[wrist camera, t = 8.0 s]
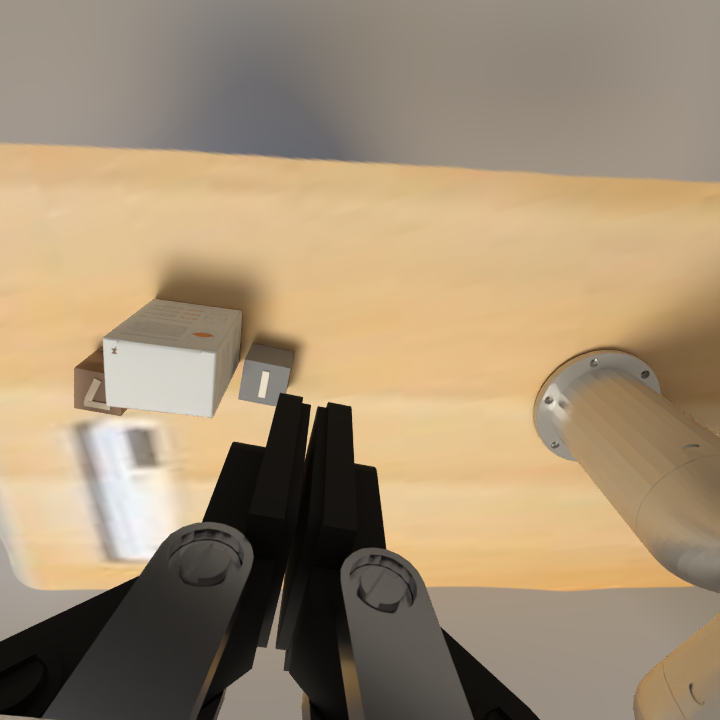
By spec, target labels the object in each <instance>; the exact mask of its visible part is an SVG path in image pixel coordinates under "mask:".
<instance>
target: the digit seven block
mask: <svg viewBox="0 0 720 720" xmlns="http://www.w3.org/2000/svg"><path fill="white" fill-rule="evenodd" d="M74 408H77V409H83V410H89V411H95V412H100V413H106V414H112V415H117V416H121V415H122V414H123V413H124V412H125V411H126V410H127V408H118V407H109V406H107V405H106V392H105V373H104V355H103V352H100V351H95V352H94V353H93V354H92V355H90V356H89V357H88V358H86V359H85V360H84V361H83V362H81V363H80V364H79V365H77V366H76V367H75V368H74Z"/></svg>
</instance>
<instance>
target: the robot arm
mask: <svg viewBox="0 0 720 720" xmlns="http://www.w3.org/2000/svg"><path fill="white" fill-rule="evenodd" d="M302 401H303V397H300V396H295V395H290V394H285V393H280V394H279V398H278V402H277V406H276V410H275V414H274V418H273V421H272V425H271V429H270V433H269V437H268V441H267V445H266V447H261V446H255V445H250V444H244V443H239V442H233V443H232V445H231V447H230V450H229V453H228V455H227V458H226V460H225V463H224V466H223V468H222V471H221V474H220V476H219V479H218V481H217V484H216V487H215V489H214V492H213V495H212V497H211V500H210V502H209V505H208V508H207V510H206V513H205V516H204V518H203V521H202V523H195V524H191V525H188V526H185V527H182V528H180V529H179V530H177V531H175V532H173V533H172V534H170V535H169V536H168V538H167V539H166V540H165V541H164V542H163V543H162V544H161V545H160V547H159V548H158V550H157V551H156V553H155V554H154V555H153V557H152V558H151V560H150V561H149V563H148V564H147V566H146V567H145V568H144V570H143V571H142V573H141V574H140V576H138V577H136V578H133V579H131V580H129V581H127V582H125V583H123V584H121V585H119V586H117V587H114V588H112V589H110V590H108V591H106V592H104V593H102V594H100V595H98V596H95V597H94V598H91V599H89V600H87V601H85V602H83V603H81V604H79V605H76V606H74V607H72V608H70V609H68V610H66V611H64V612H62V613H60V614H57V615H56V616H53V617H51V618H49V619H47V620H45V621H43V622H41V623H39V624H36V625H34V626H32V627H30V628H28V629H26V630H24V631H22V632H20V633H17V634H15V635H13V636H11V637H9V638H7V639H5V640H3V641H1V642H0V720H217V718H218V715H219V712H220V709H221V706H222V704H223V701H224V698H225V693H226V688H227V687H228V686H229V685H231V684H232V683H233V682H234V681H236V680H237V679H239V678H240V677H241V676H243V675H244V674H245V673H246V672H248V671H249V670H250V669H252V665H253V661H254V657H255V652H256V648H257V647H265V648H266V647H267V643H268V640H269V635H270V631H271V627H272V623H273V619H274V615H275V610H276V607H277V603H278V599H279V595H280V590H281V587H282V583H283V579H284V586H283V594H282V601H281V609H280V617H279V624H278V632H277V639H276V649H281V650H286V655H285V664H284V671H289V673H290V675H291V676H292V677H293V678H294V680H295V681H296V682H297V683H298V685H299V686H300V687H301V688H302V690H303V696H302V720H540V719H539V718H538V717H537V716H536V715H535V714H534V713H533V712H532V711H531V709H530V708H529V707H528V706H527V705H525V704H524V703H523V702H522V701H521V700H520V699H519V698H518V697H516V695H514V694H513V693H512V692H511V691H510V690H509V689H508V688H507V687H506V686H505V685H503V684H502V683H501V682H500V681H499V680H498V679H497V678H496V677H495V676H494V675H493V674H492V673H490V672H489V671H488V670H487V669H486V668H485V667H484V666H483V665H482V664H481V663H479V662H478V661H477V660H476V659H475V658H474V657H473V656H472V655H471V654H470V653H469V652H467V651H466V650H465V649H464V648H463V647H462V646H461V645H460V644H459V643H458V642H456V641H455V640H454V639H453V638H452V637H451V636H450V635H449V634H448V633H447V632H446V631H445V630H443V629H442V628H441V627H440V625H439V622H438V619H437V617H436V614H435V611H434V608H433V606H432V603H431V600H430V597H429V595H428V592H427V589H426V586H425V584H424V581H423V580H422V578H421V576H420V574H419V572H418V571H417V570H416V569H415V568H414V566H413V565H412V564H411V563H410V562H409V561H407V560H406V559H404V558H403V557H402V556H400V555H399V554H396V553H394V552H391V551H389V550H386V543H385V535H384V527H383V518H382V510H381V502H380V494H379V485H378V477H377V471H376V468H375V467H372V466H366V465H361V464H355V463H354V449H353V428H352V409H351V406H346V405H341V404H336V403H330V402H328V404H327V407H326V408H324V407H319V406H318V408H317V412H316V416H315V420H314V424H313V428H312V433H311V437H310V441H309V445H308V449H307V454H306V458H305V452H306V444H307V435H308V427H309V418H310V409H311V405H309V404H304V403H302ZM533 418H534V425H535V429H536V431H537V433H538V436H539V437H540V439H541V440H542V442H543V443H544V444H545V446H546V447H547V448H548V449H549V450H550V451H551V452H553V453H554V454H556V455H557V456H559V457H562V458H564V459H567V460H571V461H576V462H578V463H579V464H580V465H581V467H582V468H583V469H584V470H585V472H586V473H587V474H588V475H589V477H590V478H591V479H592V480H593V482H594V483H595V484H596V485H597V487H598V488H599V489H600V490H601V492H602V493H603V494H604V496H605V497H606V498H607V499H608V501H609V502H610V503H611V504H612V506H613V507H614V508H615V509H616V511H617V512H618V513H619V514H620V516H621V517H622V518H623V519H624V521H625V522H626V523H627V525H628V526H629V527H630V528H631V530H632V531H633V532H634V533H635V535H636V536H637V537H638V538H639V540H640V541H641V542H642V543H643V544H644V546H645V547H646V548H647V549H648V551H649V552H650V553H651V554H652V556H653V557H654V558H655V559H656V560H657V561H658V562H659V563H660V564H661V565H662V566H663V567H665V568H666V569H667V570H668V571H669V572H671V573H672V574H674V575H676V576H677V577H679V578H681V579H682V580H684V581H686V582H688V583H691V584H693V585H695V586H698V587H700V588H704V589H707V590H710V591H713V592H716V593H720V438H719V437H718V436H717V435H715V434H714V433H712V432H711V431H710V430H708V429H707V428H706V427H704V426H703V425H701V424H700V423H699V422H697V421H696V420H695V419H693V418H692V417H690V416H689V415H688V414H686V413H685V412H684V411H682V410H681V409H679V408H678V407H677V406H675V405H674V404H673V403H671V402H670V401H668V400H667V399H666V398H664V397H663V396H662V395H661V388H660V384H659V381H658V378H657V376H656V375H655V373H654V371H653V370H652V369H651V368H650V367H649V366H648V365H647V364H646V363H645V362H643V361H642V360H640V359H639V358H638V357H636V356H633V355H631V354H629V353H627V352H622V351H618V350H599V351H592V352H589V353H586V354H583V355H580V356H578V357H576V358H574V359H572V360H570V361H568V362H567V363H565V364H564V365H562V366H561V367H560V368H558V369H557V370H556V371H555V372H554V373H553V374H552V375H551V376H550V377H549V378H548V380H547V381H546V382H545V384H544V385H543V386H542V388H541V390H540V392H539V394H538V396H537V399H536V402H535V406H534V416H533ZM304 461H305V462H304ZM285 570H286V571H285ZM284 574H285V578H284ZM633 710H634V716H635V720H720V613H718V614H717V615H716V617H715V618H714V619H713V620H712V621H710V622H709V623H708V624H707V625H706V626H704V627H703V628H702V629H700V630H699V631H698V632H696V633H695V634H694V635H693V636H692V637H690V638H689V639H688V640H686V641H685V642H684V643H683V644H681V645H680V646H679V647H678V648H676V649H675V650H674V651H673V652H671V653H670V654H669V655H667V656H666V658H664V659H663V660H662V661H661V662H660V663H658V664H657V665H656V666H655V667H654V668H653V669H652V670H650V672H648V673H647V674H646V675H645V677H644V678H643V679H642V680H641V682H640V683H639V685H638V687H637V689H636V692H635V695H634V703H633Z"/></svg>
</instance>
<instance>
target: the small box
mask: <svg viewBox="0 0 720 720" xmlns="http://www.w3.org/2000/svg"><path fill="white" fill-rule="evenodd" d="M241 325H242V311H241V310H234V309H226V308H219V307H211V306H204V305H197V304H189V303H182V302H174V301H167V300H160V299H153V300H152V301H151V302H149V303H148V304H147V305H145V306H144V307H143V308H141V309H140V310H139V311H137V312H136V313H135V314H133V315H132V316H131V317H129V318H128V319H127V320H125V321H124V322H123V323H122V324H120V325H119V326H118V327H116V328H115V329H113V330H112V331H111V332H109V333H108V334H107V335H106V336H104V337H103V355H104V373H105V392H106V405H107V406H109V407H118V408H127V409H137V410H146V411H155V412H164V413H174V414H183V415H192V416H200V417H209V418H212V417H213V416H214V414H215V412H216V410H217V408H218V406H219V404H220V402H221V399H222V397H223V395H224V393H225V391H226V389H227V387H228V385H229V383H230V381H231V379H232V377H233V375H234V372H235V370H236V368H237V366H238V364H239V353H240V339H241Z"/></svg>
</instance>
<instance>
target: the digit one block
mask: <svg viewBox="0 0 720 720" xmlns="http://www.w3.org/2000/svg"><path fill="white" fill-rule="evenodd" d="M293 357H294V352H293V351H288V350H284V349H279V348H274V347H269V346H265V345H260V344H255V343H252V345H251V347H250V349H249V352H248V354H247V356H246V358H245V361H244V367H243V373H242V379H241V386H240V392H239V398H238V399H240V400H245V401H250V402H255V403H261V404H266V405H271V406H277V402H278V398H279V394H280V393H285V394H286V390H287V386H288V381H289V376H290V371H291V366H292V362H293Z"/></svg>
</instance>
